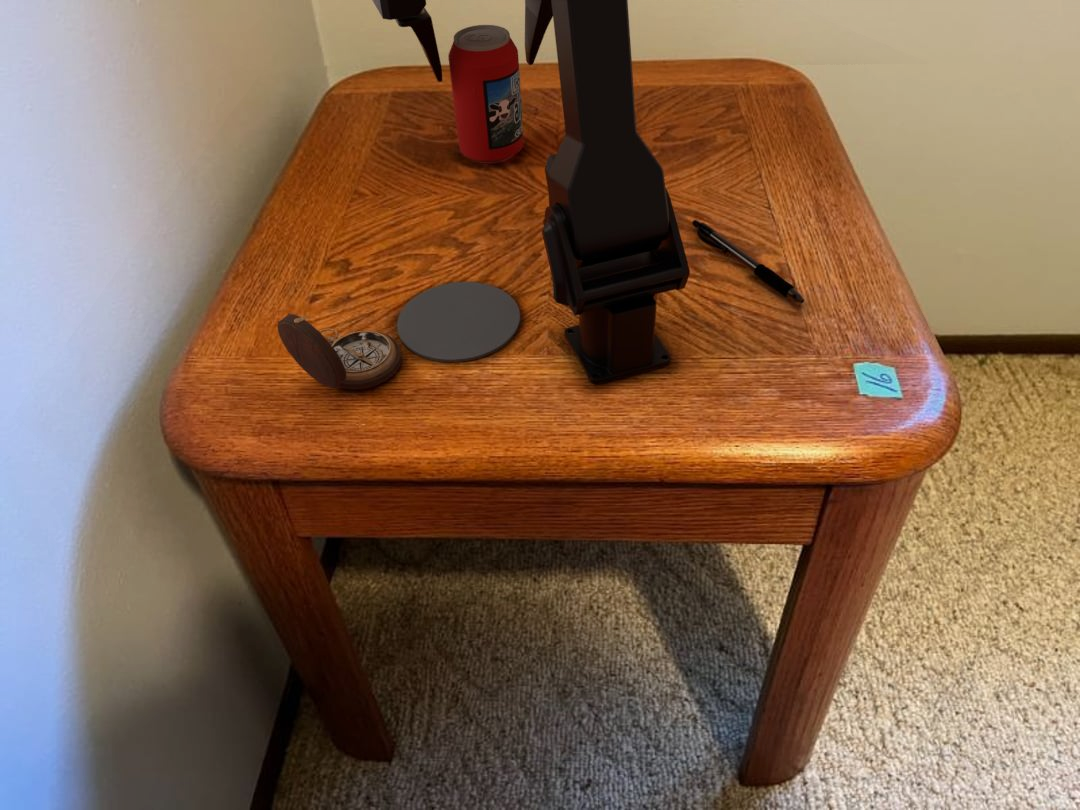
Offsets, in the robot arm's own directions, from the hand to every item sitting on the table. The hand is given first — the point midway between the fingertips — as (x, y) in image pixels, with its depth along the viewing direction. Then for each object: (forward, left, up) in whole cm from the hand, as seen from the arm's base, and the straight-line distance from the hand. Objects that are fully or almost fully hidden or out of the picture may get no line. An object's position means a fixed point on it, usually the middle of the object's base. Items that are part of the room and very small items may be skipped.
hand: (484, 71), depth 83 cm
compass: (-28, +20, -9) cm, 35 cm away
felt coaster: (-26, +10, -9) cm, 29 cm away
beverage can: (0, 0, -9) cm, 9 cm away
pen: (-28, -14, -9) cm, 32 cm away
